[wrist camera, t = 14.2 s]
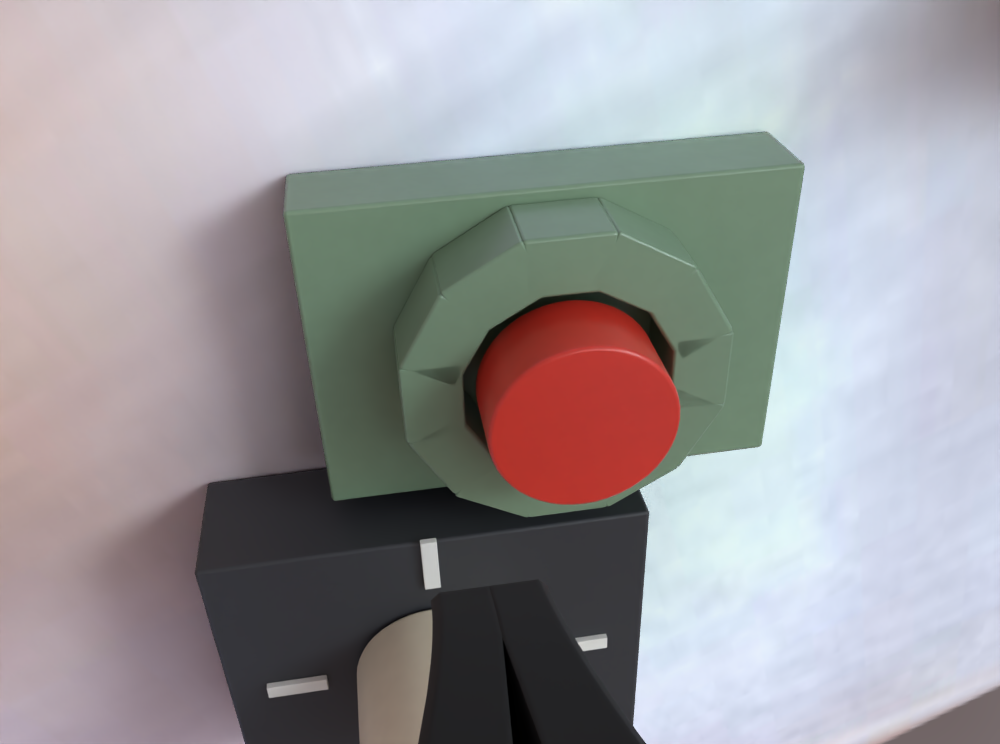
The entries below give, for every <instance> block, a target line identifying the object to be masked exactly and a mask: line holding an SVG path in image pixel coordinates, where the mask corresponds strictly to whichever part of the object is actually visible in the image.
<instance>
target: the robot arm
mask: <svg viewBox="0 0 1000 744" xmlns="http://www.w3.org/2000/svg"><path fill="white" fill-rule="evenodd" d="M431 608H432V652H431V664H430V672H429V680H428V689H427V696H426V702H425V707H424V713H423V719H422V724H421V730H420V735H419V741H418V744H646V743H645V742H644V740H643V739H642V738H641V736H640V735H639V734H638V732H637V731H636V730H635V728H634V727H633V725H632V724H631V722H630V721H629V720H628V718H627V717H626V715H625V714H624V712H623V711H622V710H621V708H620V707H619V705H618V704H617V702H616V701H615V700H614V698H613V697H612V695H611V694H610V692H609V691H608V690H607V688H606V687H605V685H604V684H603V682H602V681H601V679H600V678H599V676H598V674H597V673H596V671H595V670H594V668H593V667H592V665H591V663H590V662H589V660H588V659H587V657H586V655H585V654H584V652H583V651H582V649H581V647H580V646H579V644H578V642H577V641H576V639H575V637H574V636H573V634H572V632H571V630H570V629H569V627H568V625H567V623H566V622H565V620H564V618H563V616H562V614H561V612H560V610H559V608H558V607H557V605H556V603H555V601H554V599H553V597H552V595H551V592H550V590H549V588H548V586H547V585H546V584H545V583H543V582H542V581H540V580H539V579H536V580H529V581H522V582H514V583H507V584H499V585H492V586H484V587H477V588H470V589H462V590H455V591H447V592H440V593H439V594H438V595H436V596H435V597H434V598H433V599H432V600H431Z"/></svg>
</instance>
